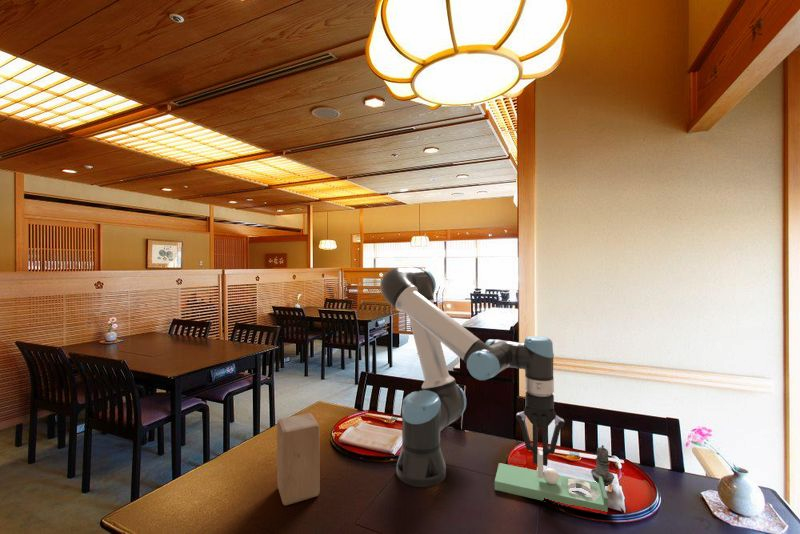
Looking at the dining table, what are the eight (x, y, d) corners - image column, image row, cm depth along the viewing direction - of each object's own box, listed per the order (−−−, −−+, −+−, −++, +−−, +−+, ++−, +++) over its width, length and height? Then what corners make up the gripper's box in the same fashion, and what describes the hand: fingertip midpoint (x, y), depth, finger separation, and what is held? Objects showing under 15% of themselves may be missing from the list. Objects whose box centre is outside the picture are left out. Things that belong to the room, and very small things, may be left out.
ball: (562, 481, 98) (551, 490, 99) (562, 474, 101) (551, 482, 102) (550, 469, 99) (539, 478, 100) (550, 462, 103) (540, 470, 104)
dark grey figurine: (617, 494, 100) (617, 451, 100) (594, 491, 101) (594, 448, 101) (609, 481, 106) (610, 440, 105) (588, 479, 107) (588, 439, 107)
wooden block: (282, 508, 94) (282, 432, 94) (276, 487, 103) (276, 417, 103) (320, 496, 99) (320, 424, 99) (311, 477, 108) (311, 411, 108)
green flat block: (494, 489, 102) (494, 473, 102) (499, 470, 111) (499, 456, 111) (607, 515, 91) (607, 498, 91) (602, 492, 100) (602, 476, 100)
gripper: (514, 393, 101) (515, 477, 101) (565, 399, 96) (566, 488, 96) (516, 385, 108) (517, 464, 108) (564, 390, 103) (565, 473, 103)
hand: (540, 475), depth 102 cm, fingers closed
